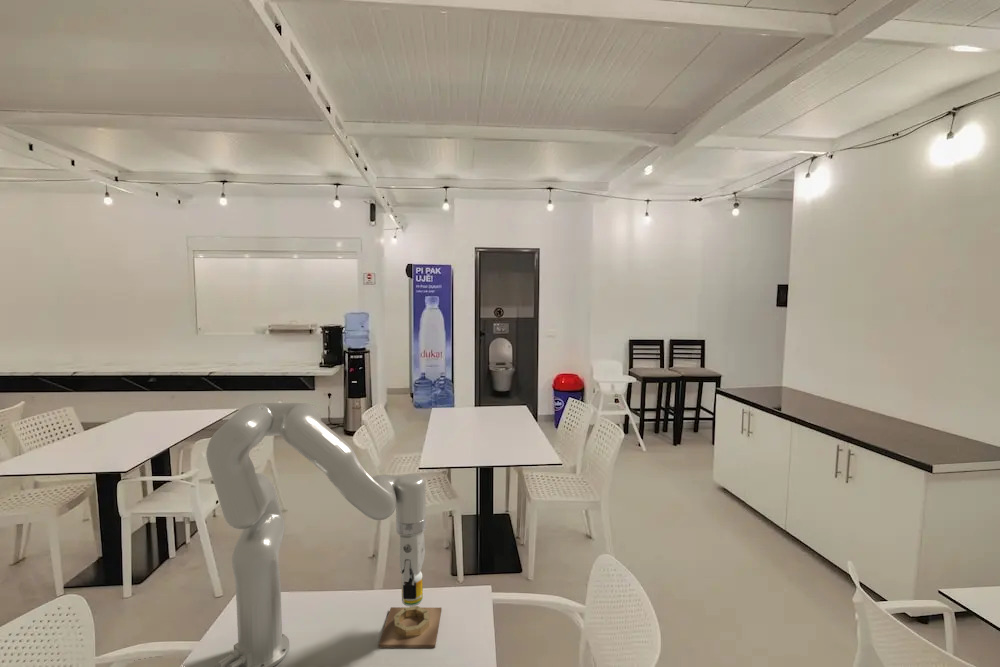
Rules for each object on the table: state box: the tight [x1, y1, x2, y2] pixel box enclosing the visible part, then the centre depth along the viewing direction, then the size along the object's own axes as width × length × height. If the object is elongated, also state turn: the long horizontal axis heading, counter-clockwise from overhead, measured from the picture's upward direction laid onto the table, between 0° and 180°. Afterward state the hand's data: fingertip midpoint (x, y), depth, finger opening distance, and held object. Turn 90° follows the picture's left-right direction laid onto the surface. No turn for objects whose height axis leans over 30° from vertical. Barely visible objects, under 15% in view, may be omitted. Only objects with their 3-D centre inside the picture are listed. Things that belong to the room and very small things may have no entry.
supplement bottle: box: [401, 569, 424, 607], centre depth 125 cm, size 5×5×10 cm
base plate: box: [378, 606, 443, 649], centre depth 126 cm, size 14×14×1 cm
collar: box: [394, 605, 429, 638], centre depth 126 cm, size 9×9×2 cm
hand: (412, 590), depth 125 cm, fingers closed on supplement bottle, 5 cm apart
